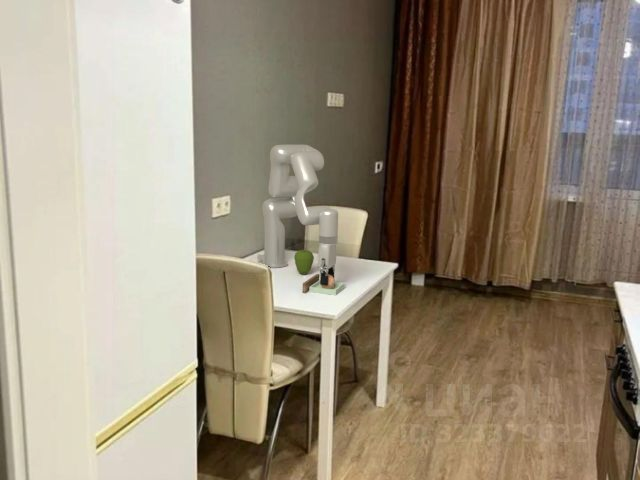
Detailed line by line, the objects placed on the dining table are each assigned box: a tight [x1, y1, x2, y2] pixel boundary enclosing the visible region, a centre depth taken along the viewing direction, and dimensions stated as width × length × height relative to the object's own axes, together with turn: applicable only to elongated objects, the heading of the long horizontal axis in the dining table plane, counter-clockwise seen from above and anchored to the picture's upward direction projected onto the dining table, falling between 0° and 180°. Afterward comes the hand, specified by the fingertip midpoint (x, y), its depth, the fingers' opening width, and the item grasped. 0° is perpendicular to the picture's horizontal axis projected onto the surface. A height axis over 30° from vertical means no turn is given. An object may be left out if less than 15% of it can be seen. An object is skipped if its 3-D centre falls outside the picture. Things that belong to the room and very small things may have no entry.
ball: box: [321, 274, 336, 289], centre depth 246 cm, size 6×6×6 cm
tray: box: [308, 279, 346, 296], centre depth 246 cm, size 11×11×2 cm
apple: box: [293, 249, 315, 275], centre depth 269 cm, size 9×8×12 cm
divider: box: [302, 273, 320, 294], centre depth 249 cm, size 1×16×4 cm, turn 159°
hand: (327, 282), depth 246 cm, fingers open, 6 cm apart
